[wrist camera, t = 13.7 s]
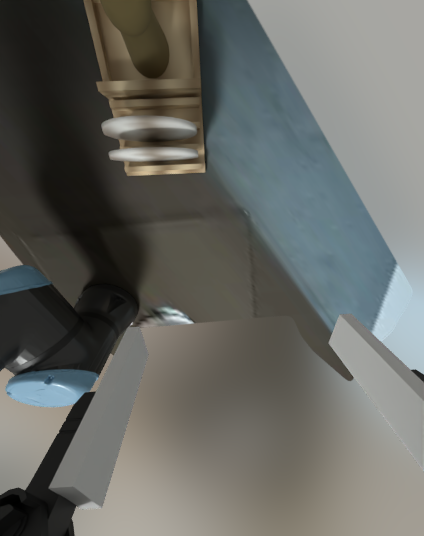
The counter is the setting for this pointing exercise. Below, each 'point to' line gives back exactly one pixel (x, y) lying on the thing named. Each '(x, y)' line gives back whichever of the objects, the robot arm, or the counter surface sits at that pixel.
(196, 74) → the rack
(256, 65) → the counter surface
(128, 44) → the cork
